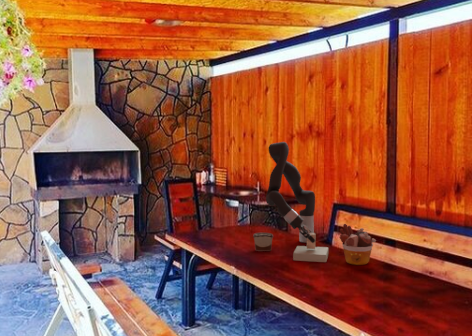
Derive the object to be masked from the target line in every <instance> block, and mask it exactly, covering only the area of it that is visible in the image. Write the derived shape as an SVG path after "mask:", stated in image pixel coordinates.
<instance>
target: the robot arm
mask: <svg viewBox="0 0 472 336" xmlns="http://www.w3.org/2000/svg"><path fill="white" fill-rule="evenodd" d="M289 148H290V147H289V145H288V143H287V142H286V141H279V142H273V143H270V144H269V146H268V153H269V155H270V158H271V159H272V161H274V163H275V164H276V165H275V166H274V168H273V169H272V171H271V172H270V175H269V182H268V189H267V190H266V191H267V192H266V195H265V202H266V204H267V205H268V206H270V207H271V206H272V207H273V206H276V209H277V212H278V214H280V216H281V217H283V219H284V220H285V221H286V222H287V223H288V224H289V226H290V227H291V228H292V229H293V230H296V229H298V232H299V235H298V236H299V242H300V243H306V244H307V238H308V239H309V240H310V241H311V242H312V243H314V242H315V239H314V238H313V237H312V236H311V235H310V234H309V233H315V232H314V230H315V227H314V226H315V224H314V223H315V221H314V218H315V215H314V213H315V210H316V209H315V207H316V193H315V192H314V191H312V190H304V189H303V187H302V186H301V179H302V176H301V174H300V171H299V170H298V168H297V167H296V166H295V165H294V164H292V163H291V162H289V161H288V156H289V152H290V149H289ZM283 177H284V178H285V180H286V181H287V183H288V185H289V187H290V189H291V191H292V193H293V194H294V197H295V199H296V201H297V202H298V204H300V205H305V208H303V209H300V210H299V212H298V213H299V214H298V213H297V211H295V210H294V209H293V208H292V207H291V206H290V205H289V204H288V203H287V202H286V199H285V198H284V196H283V195H282V194H281V193H280V192H279V191H280V190H281V187H282V179H283Z"/></svg>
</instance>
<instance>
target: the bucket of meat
mask: <svg viewBox="0 0 472 336" xmlns="http://www.w3.org/2000/svg"><path fill="white" fill-rule="evenodd" d="M342 226H343V228H340V229H339V232H340V236H339V239H340V241H341V243H342V249H343V253H344V258H345V261H346V263H347V264H350V265H353V266H363V265H364V266H365V265H367V264H368V263H369V262H370V258H371V254H372V251H373V246H374V243H376V241H377V240H376V239H375V238H372V237H371V236H370V235H369V233H368V232H367V231H364V228H362V227H360V228H359V229H357V231H356V232H355V233H354V232H353V229H352V226H351V225H347V224H346V223H344V224H343V225H342Z"/></svg>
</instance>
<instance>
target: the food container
mask: <svg viewBox="0 0 472 336" xmlns="http://www.w3.org/2000/svg"><path fill="white" fill-rule="evenodd" d="M252 238H253V240H254V249H255V251H256V252H257V251H258V252H263V251H264V252H265V251H266V252H270V251H272V245H273V238H274V234H273V233H270V232H255V233H253V236H252Z"/></svg>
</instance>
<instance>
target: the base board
mask: <svg viewBox="0 0 472 336" xmlns="http://www.w3.org/2000/svg"><path fill="white" fill-rule="evenodd" d="M292 257H293V258H292V259H293V260H292V261H301V262H315V263H316V262H318V263H327V260H328V257H329V247H327V246H315V249H307V245H306V246H305V245H297V246H296V248H295V249H294V251H293V254H292Z"/></svg>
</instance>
